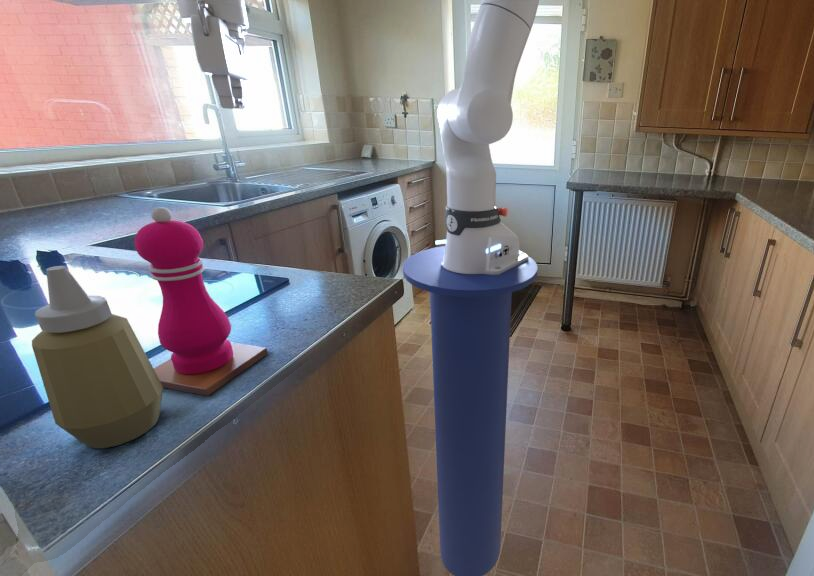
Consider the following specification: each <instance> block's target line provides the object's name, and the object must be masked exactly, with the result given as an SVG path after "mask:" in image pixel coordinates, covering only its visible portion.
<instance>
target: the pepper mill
mask: <svg viewBox="0 0 814 576" xmlns="http://www.w3.org/2000/svg"><path fill="white" fill-rule="evenodd" d="M150 217H151V218H152V220H153V222H149V223H147V224H145V225H144V226H142V227H141V228H139V229H138V231H137V232H136V235H134V248H135V250H136V253H137V255H139V257H140V258H142V259H143V260H145V261H146V262H148V263H149V264H150V265H148V271H149V272H150V273H151V274H150V278H151V279H152V280H155V281H157V283H158V284H159V287H160V291H161V296H162V307H161V312H160V317H159V321H158V326H157V336H158V340H159V344H160V346H161V347H162V348H163V349H165V350H167V351H169V352H171V356H170V359H171V360H172V363H173V366H174V369H175V370H176V371H177V372H178V373H182V374H200V373H205V372H209V371H212V370H215V369H217V368H219V367H221V366H223V365H225V364H226V363H228V362H229V361H230V360H231V358H232V357H233V350H232V346H231V343H230V342H231V341H230V340H229V339H228V338H229V336H230V334H231V332H232V325H231V321H230V319H229V317H228V316H227V314H226V313H225V311H224V310H223V308H221V307H220V306H219V305H218V303H217V302H216V301H214V299H213V298H212V297H211V296H210V294H209V293H208V290H207V288H206V285H205V283H204V279H203V273H204V272H205V270H206V268H205V266H204V265H203V263H204V260H203V259H202V258H200V257H199V255H200V254H201V253H202V251H203V248H204V240H203V238H202V236H201V233H200V232H199V231H198V229H197V228H196V227H194V226H193V225H191V224H189V223H188V222H185V221H180V220H175V219H173V214H172V211H171V210H169V209H168V208H167V207H163V206H159V207H155V208H153V210H152V211H151V213H150Z"/></svg>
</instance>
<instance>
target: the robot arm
mask: <svg viewBox="0 0 814 576" xmlns="http://www.w3.org/2000/svg"><path fill="white" fill-rule="evenodd" d="M176 3H177V7H178V12H179V15H180V19H181V20H182V21H183V22H185V23H189V24H190V29H191V36H192V40H193V45H194V50H195V55H196V60H197V61H196V62H197V64H198V66H199V69H200V71H201V73H203V74H205V75H209V76H211V80H212V84H213V86H214V89H215V91H216V94H217V96H218V100H219V104H220V107H221V108H223V109H229V110H232V109H233V110H234V109H240V110H241V109H242V110H243V109H245V100H244V89H243V88H244V87H243V82H248V79H249V69H248V68H249V67H248V56H247V48H246V40H245V35H248V29H249V28H250V24H249V18H248V13H247V7H246V3H245V0H176ZM539 3H540V0H481V2H480V4H479V8H478V11H477V12H476V13H477V14H476V16H475V20H474V23H473V27H472V28H471V32H470V35H469V37H468V41H467V43H466V48H465V53H466V58H465V66H464V72H463V77H462V81H461V84H460V87H459V88H454V89H451V90H449V91H448V92H447V93H446V94H445V95H444V96H443V97H442V98H441V100H439V103H438V105H437V109H436V118H437V122H438V125H439V132H440V138H441V145H442V146H441V147H442V152H443V158H444V163H445V172H446V173H445V175H446V206H445V226H446V237H445V239H439V240H435V245H444V246H445V252H444V256H443V260H442V266H443V267H444V268H445V269H447V270H449V271H452V272H456V273H462V274H488V275H499V274H501V273H503V272H505V271H507V270H509V269H511V268H513V267H515V266H517V265H519V264H521V263H523V262H525V261H527V260H528V256H529V255H528V254H527V253H525V252H524V251H522V250H520V240H519V239H520V238H519V237H518V235H517V234H516V233H515V232H513V231H512V230H511V229H510V228H509V227H507V226H506V225H505V224H504V223H503V222H501V216H502V217H505V218H506V217H507V216H508V215H509V209H508V207H502V206H500V207H499V208H498V207H497V206H496V197H497V195H496V193H497V192H496V191H497V171H496V169H495V166H494V163H493V159H492V154H491V149H490V145H491V144H494V143H497V142H499V141H501V140H502V139H504V138H505V137H506V136H507V135H508V133H509V131H510V130H511V127H512V125H513V121H514V120H513V119H514V114H513V113H514V112H513V109H512V108H513V107H512V100H513V99H512V98H513V93H514V86H515V80H516V75H517V71H518V68H519V64H520V62H521V59H522V56H523V53H524V50H525V47H526V45H527V42H528V39H529V37H530V34H531V31H532V28H533V26H534V22H535V19H536V15H537V11H538V7H539Z"/></svg>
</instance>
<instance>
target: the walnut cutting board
mask: <svg viewBox="0 0 814 576" xmlns="http://www.w3.org/2000/svg"><path fill="white" fill-rule="evenodd" d="M230 343H231V346H232V350H233V357H232V358H231V360H230V361H229V362H228V363H226V364H225V365H223V366H221V367H219V368H217V369H215V370H212V371H209V372H205V373H200V374H182V373H178V372H177V371H176V370H175V369H174V366H173V363H172V360H171V358H170V359H168V360H166V361H164V362H162V363H161V364H159V365H157V366H156V367H153V369H154V371H155V372H156V374H157V376H158V378H159V380H160V382H161V384H162V387H163V389H169V390H174V391H180V392H185V393H191V394H195V395H201V396H206V397H208V396H210V395H211V394H213V393H215V392H216V391H217V390H219V389H220V388H221V387H223V386H224V385H226V384H227V383H229V382H230V381H231V380H233V379H234V378H235V377H237V376H238V375H240V374H241V373H243V372H244V371H246V370H247V369H248V368H250V367H251V366H252V365H254V364H255V363H257V362H258V361H260V360H262V359H263V358H264V357H265V356H267V355H268V354H269V352H268V348H267V347H264V346H258V345H251V344H244V343H239V342H234V341H233V342H232V341H230Z"/></svg>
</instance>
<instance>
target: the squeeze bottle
mask: <svg viewBox="0 0 814 576" xmlns="http://www.w3.org/2000/svg"><path fill="white" fill-rule="evenodd" d="M45 269H46V270H45V271H46V282H47V290H48V298H49V299H48V301H49V303H48V304H46V305H43V306H42V307H39V308H38V309H37V310H35V312H34V316H35V319H36V321H37V323H38V325H39V328H40V330H41V331H40V332H39V333H38V334H37V335H36V336H35V337H33V339H32V340H31V347H32V351H33V355H34V357H35V360H36V364H37V367H38V370H39V373H40V377H41V380H42V384H43V387H44V390H45V394H46V398H47V401H48V404H49V407H50V410H51V414H52V416H53V417H52V418H53V420H54V423H55V425H56V426H58V427H59V428H61V429H62V430H64V431H65V432H66V433H67V434H69V435H70V436H72V437H73V438H75V439H76V440H78V441H79V442H80V443H81V444H83V445H84V446H87V447H89V448H91V449H107V448H113V447H116V446H120V445H123V444H126V443H128V442H131V441H133V440H135V439H138V437H141V436H142V435H144V434H146V433H147V432H149V431H150V430H151V429H152V428H153V427H154V426H155V425H157V423H158V421H159V419H160V415H161V414H160V413H161V408H162V401H163V399H162V398H163V392H164V391H163V390H164V388H163V387H162V384H161V382H160V380H159V378H158V376H157V374H156V372H155V371H154V367H153V365H152V363H151V361H150V359H149V358H148V355H147V354H146V352H145V350H144V348H143V346H142V344H141V343H140V341H139V339H138V337H137V335H136V333H135V331H134V329H133V328H132V325H131V324H130V321H129V320H128V318H127V317H124V316H121V315H117V314H114V313H112V311H111V308H110V306H109V303H108V301H107V298H106V297H105V296H104V297H103V296H101V295H88V293H87V292H86V291H85V290H84V288H83V287H82V286H81V284H79V281H77V280H76V278H75V277H74V276H73V274H72V273H71V272H70V271H69V269H68V268H67V267H66V266H65V265H54V266H49V267H48V268H45Z"/></svg>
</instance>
